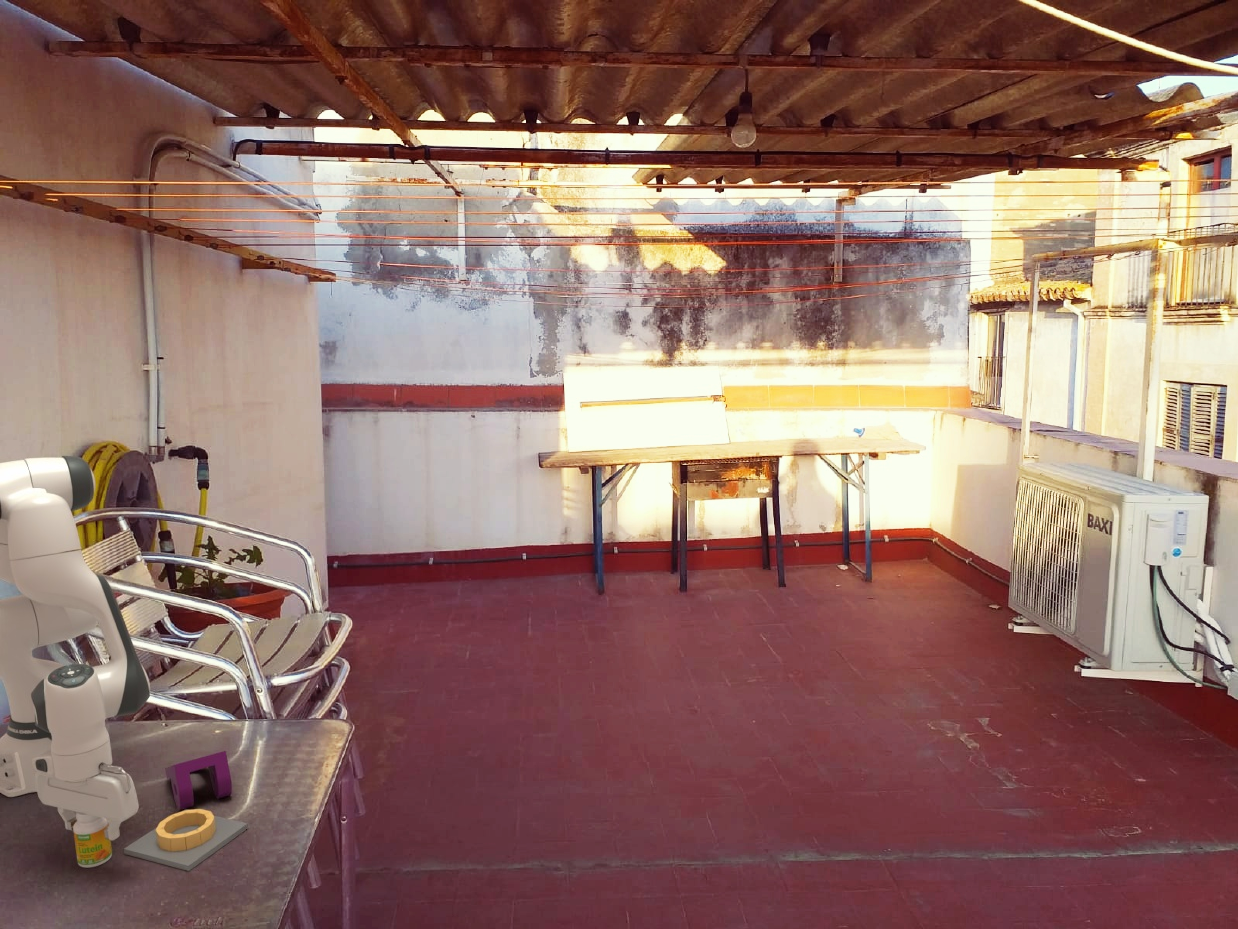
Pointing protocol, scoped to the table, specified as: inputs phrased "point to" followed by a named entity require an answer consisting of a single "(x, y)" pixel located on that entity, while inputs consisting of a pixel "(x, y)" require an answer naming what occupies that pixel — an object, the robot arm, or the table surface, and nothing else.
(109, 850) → the supplement bottle
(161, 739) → the table surface
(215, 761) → the mounting bracket
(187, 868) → the plate
